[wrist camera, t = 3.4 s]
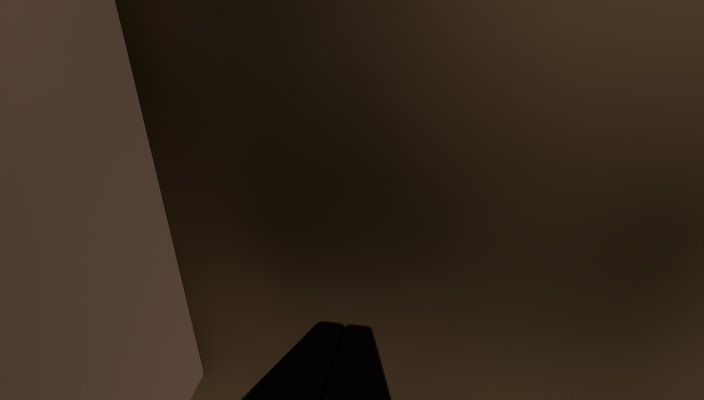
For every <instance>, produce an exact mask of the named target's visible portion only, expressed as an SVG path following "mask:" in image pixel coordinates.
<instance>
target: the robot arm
mask: <svg viewBox="0 0 704 400" xmlns="http://www.w3.org/2000/svg"><path fill="white" fill-rule="evenodd" d="M241 400H391V396H390V393H389V389H388V385H387V382H386V378H385V374H384V370H383V367H382V363H381V359H380V356H379V352H378V348H377V344H376V341H375V337H374V333H373V330H372V328H371V327H370V326H363V325H354V324H348V325H347V326H346V327H345V326H344V325H343V324H342V323H335V322H325V321H321V322H318V323H317V324H316V325H315V326H314V327H313V328H312V329H311V330H310V331H309V332H308V333H307V334H306V335H305V336H304V337H303V338H302V339H301V340H300V341H299V342H298V343H297V344H296V345H295V346H294V347H293V348H292V349H291V350H290V351H289V352H288V353H287V354H286V355H285V356H284V357H283V358H282V359H281V360H280V361H279V362H278V363H277V364H276V365H275V366H274V367H273V368H272V369H271V370H270V371H269V372H268V373H267V374H266V375H265V376H264V377H263V378H262V379H261V380H260V381H259V382H258V383H257V384H256V385H255V386H254V387H253V388H252V389H251V390H250V391H249V392H248V393H247V394H246V395H245V396H244V397H243V398H242V399H241Z"/></svg>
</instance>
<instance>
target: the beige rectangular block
mask: <svg viewBox="0 0 704 400" xmlns="http://www.w3.org/2000/svg"><path fill="white" fill-rule="evenodd" d="M203 375H204V372H203V368H202V364H201V360H200V356H199V351H198V347H197V343H196V339H195V335H194V330H193V326H192V322H191V318H190V314H189V309H188V305H187V301H186V297H185V293H184V288H183V284H182V280H181V276H180V272H179V267H178V263H177V259H176V255H175V251H174V246H173V242H172V238H171V234H170V230H169V225H168V221H167V217H166V213H165V209H164V204H163V200H162V196H161V192H160V188H159V183H158V179H157V175H156V171H155V167H154V162H153V158H152V154H151V150H150V146H149V141H148V137H147V133H146V129H145V125H144V120H143V116H142V112H141V108H140V104H139V100H138V95H137V91H136V87H135V83H134V79H133V74H132V70H131V66H130V62H129V58H128V53H127V49H126V45H125V41H124V37H123V32H122V28H121V24H120V20H119V16H118V11H117V7H116V3H115V0H0V400H190V399H191V397H192V395H193V393H194V392H195V390H196V388H197V386H198V384H199V382H200V380H201V378H202V377H203Z"/></svg>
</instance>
